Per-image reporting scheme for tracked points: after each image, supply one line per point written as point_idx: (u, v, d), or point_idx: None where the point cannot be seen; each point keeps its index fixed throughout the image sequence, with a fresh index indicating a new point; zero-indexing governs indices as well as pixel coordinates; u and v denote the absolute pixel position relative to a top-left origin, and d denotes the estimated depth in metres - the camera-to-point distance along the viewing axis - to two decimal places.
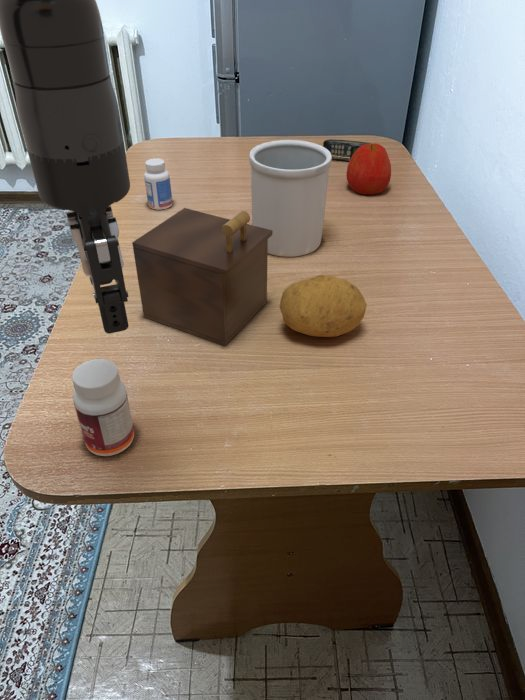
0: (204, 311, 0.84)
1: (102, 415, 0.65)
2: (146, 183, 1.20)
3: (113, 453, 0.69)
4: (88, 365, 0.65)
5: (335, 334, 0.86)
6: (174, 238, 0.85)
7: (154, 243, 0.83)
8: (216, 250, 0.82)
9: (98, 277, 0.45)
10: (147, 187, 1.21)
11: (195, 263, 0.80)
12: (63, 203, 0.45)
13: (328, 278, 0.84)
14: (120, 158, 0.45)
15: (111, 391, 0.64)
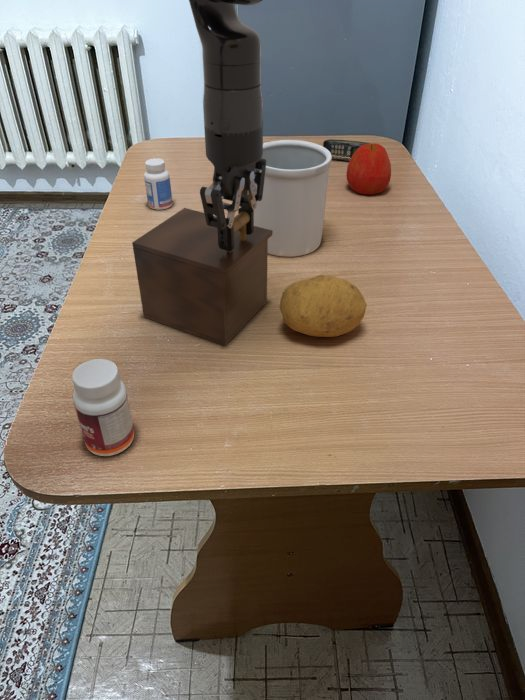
0: (204, 311, 0.84)
1: (102, 415, 0.65)
2: (146, 183, 1.20)
3: (113, 453, 0.69)
4: (88, 366, 0.65)
5: (335, 334, 0.86)
6: (174, 238, 0.85)
7: (154, 243, 0.83)
8: (216, 250, 0.82)
9: (206, 210, 0.74)
10: (147, 187, 1.21)
11: (195, 264, 0.80)
12: (208, 156, 0.73)
13: (328, 278, 0.84)
14: (246, 140, 0.70)
15: (111, 391, 0.64)
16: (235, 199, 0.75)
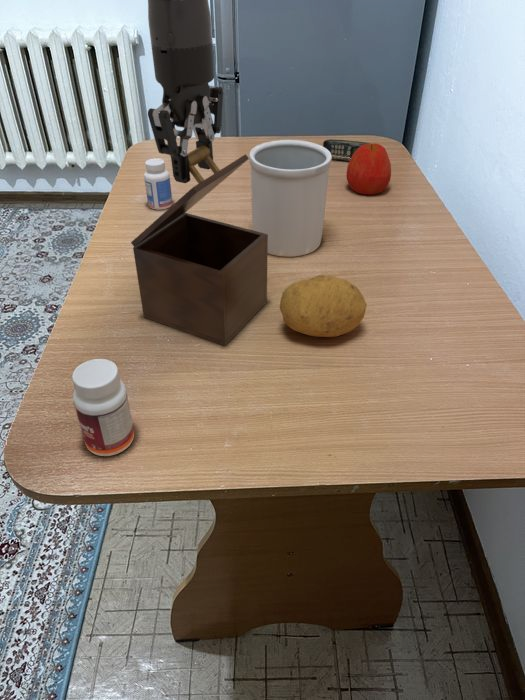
0: (204, 311, 0.84)
1: (102, 415, 0.65)
2: (146, 183, 1.20)
3: (113, 453, 0.69)
4: (88, 365, 0.65)
5: (335, 334, 0.86)
6: None
7: None
8: None
9: (156, 134, 0.71)
10: (147, 187, 1.21)
11: (173, 209, 0.76)
12: (156, 77, 0.70)
13: (328, 278, 0.84)
14: (193, 56, 0.67)
15: (111, 391, 0.64)
16: (187, 124, 0.72)
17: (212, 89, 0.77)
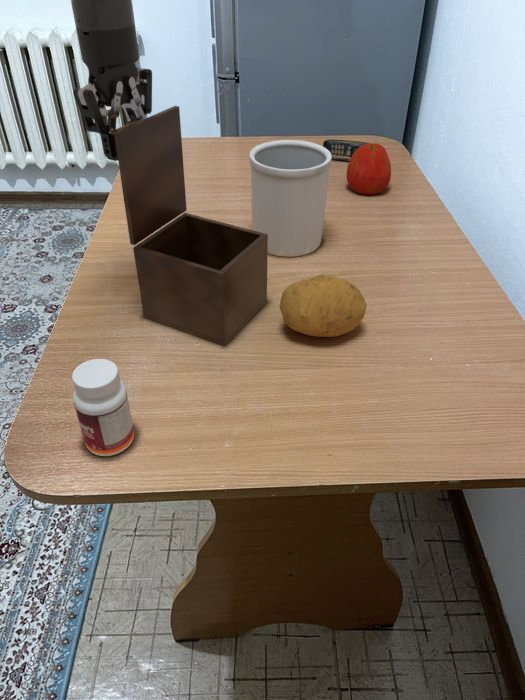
0: (204, 311, 0.84)
1: (102, 415, 0.65)
2: None
3: (113, 453, 0.69)
4: (88, 365, 0.65)
5: (335, 334, 0.86)
6: None
7: None
8: None
9: (83, 113, 0.75)
10: None
11: (122, 171, 0.77)
12: (82, 58, 0.74)
13: (328, 278, 0.84)
14: (114, 38, 0.71)
15: (111, 391, 0.64)
16: (113, 103, 0.76)
17: (141, 71, 0.81)
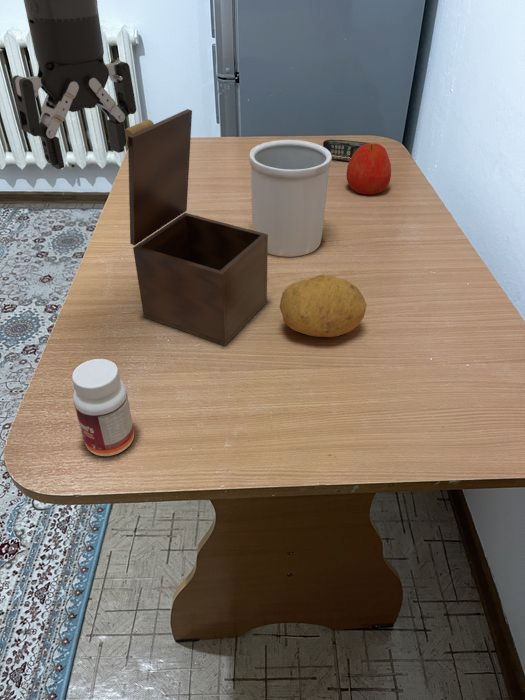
0: (204, 311, 0.84)
1: (102, 415, 0.65)
2: None
3: (113, 453, 0.69)
4: (88, 366, 0.65)
5: (335, 334, 0.86)
6: None
7: None
8: None
9: (18, 105, 0.63)
10: None
11: (131, 174, 0.76)
12: None
13: (328, 278, 0.84)
14: (60, 29, 0.59)
15: (111, 391, 0.64)
16: (65, 107, 0.65)
17: (114, 66, 0.68)
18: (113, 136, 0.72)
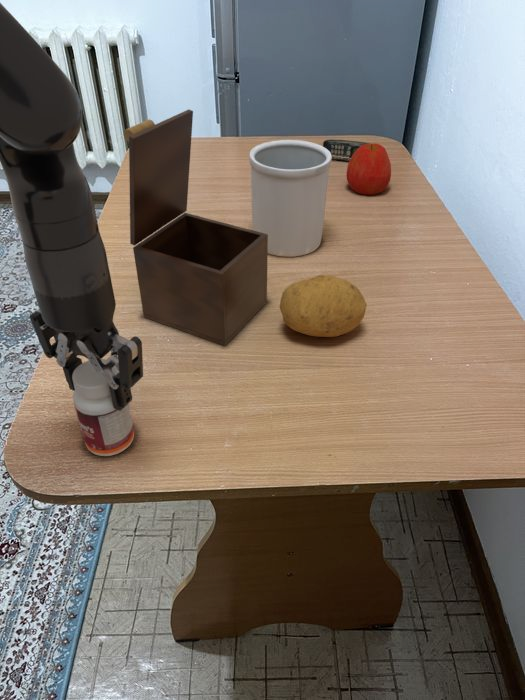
0: (204, 311, 0.84)
1: (102, 415, 0.65)
2: None
3: (113, 453, 0.69)
4: (88, 365, 0.65)
5: (335, 334, 0.86)
6: None
7: None
8: None
9: None
10: None
11: (131, 174, 0.76)
12: None
13: (328, 278, 0.84)
14: (35, 294, 0.56)
15: None
16: (59, 346, 0.62)
17: (119, 344, 0.58)
18: None
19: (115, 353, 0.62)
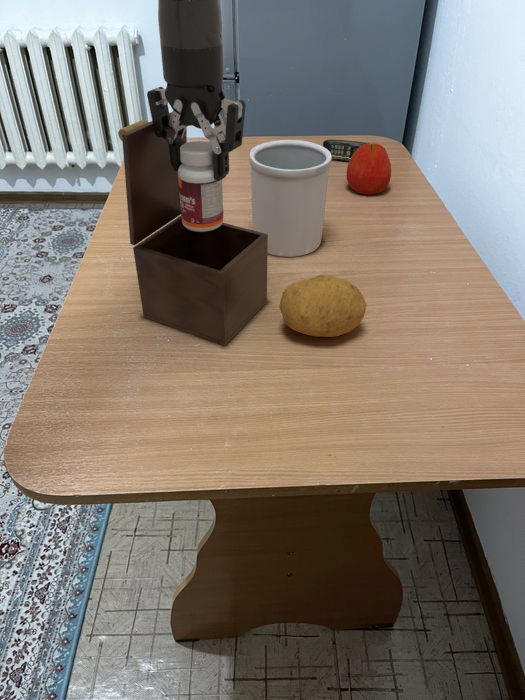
0: (204, 311, 0.84)
1: (204, 184, 0.77)
2: None
3: (208, 228, 0.81)
4: (192, 144, 0.78)
5: (335, 334, 0.86)
6: None
7: None
8: None
9: None
10: None
11: (127, 172, 0.76)
12: None
13: (328, 278, 0.84)
14: (162, 53, 0.68)
15: None
16: (172, 118, 0.74)
17: (228, 104, 0.70)
18: None
19: (218, 124, 0.74)
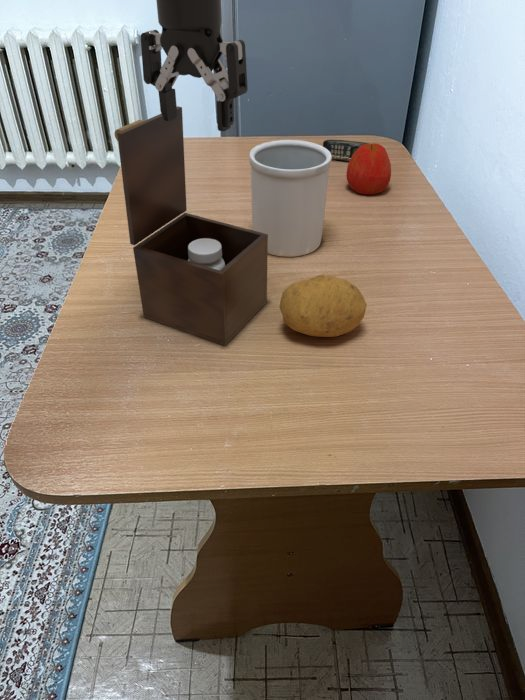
0: (204, 311, 0.84)
1: None
2: None
3: None
4: (198, 242, 0.87)
5: (335, 334, 0.86)
6: None
7: None
8: None
9: None
10: None
11: (124, 171, 0.77)
12: None
13: (328, 278, 0.84)
14: None
15: (217, 259, 0.86)
16: (168, 67, 0.70)
17: (226, 45, 0.66)
18: None
19: (220, 71, 0.70)
